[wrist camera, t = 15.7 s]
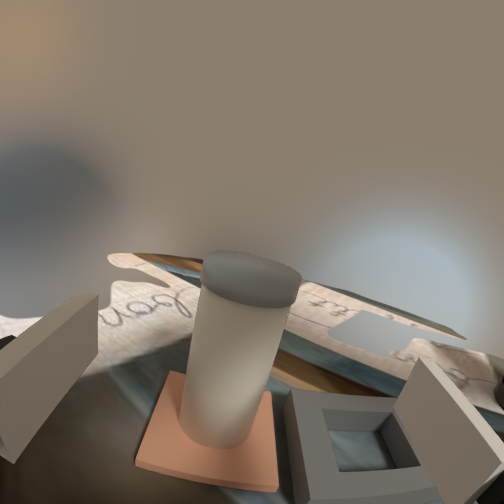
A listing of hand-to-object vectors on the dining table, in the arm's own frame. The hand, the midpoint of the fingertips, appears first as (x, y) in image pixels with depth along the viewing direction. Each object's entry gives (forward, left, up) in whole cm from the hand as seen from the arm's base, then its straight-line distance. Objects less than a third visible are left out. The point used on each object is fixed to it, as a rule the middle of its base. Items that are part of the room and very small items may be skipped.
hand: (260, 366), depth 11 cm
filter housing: (-14, -9, -15) cm, 22 cm away
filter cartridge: (0, -11, -14) cm, 18 cm away
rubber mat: (0, -11, -15) cm, 19 cm away
